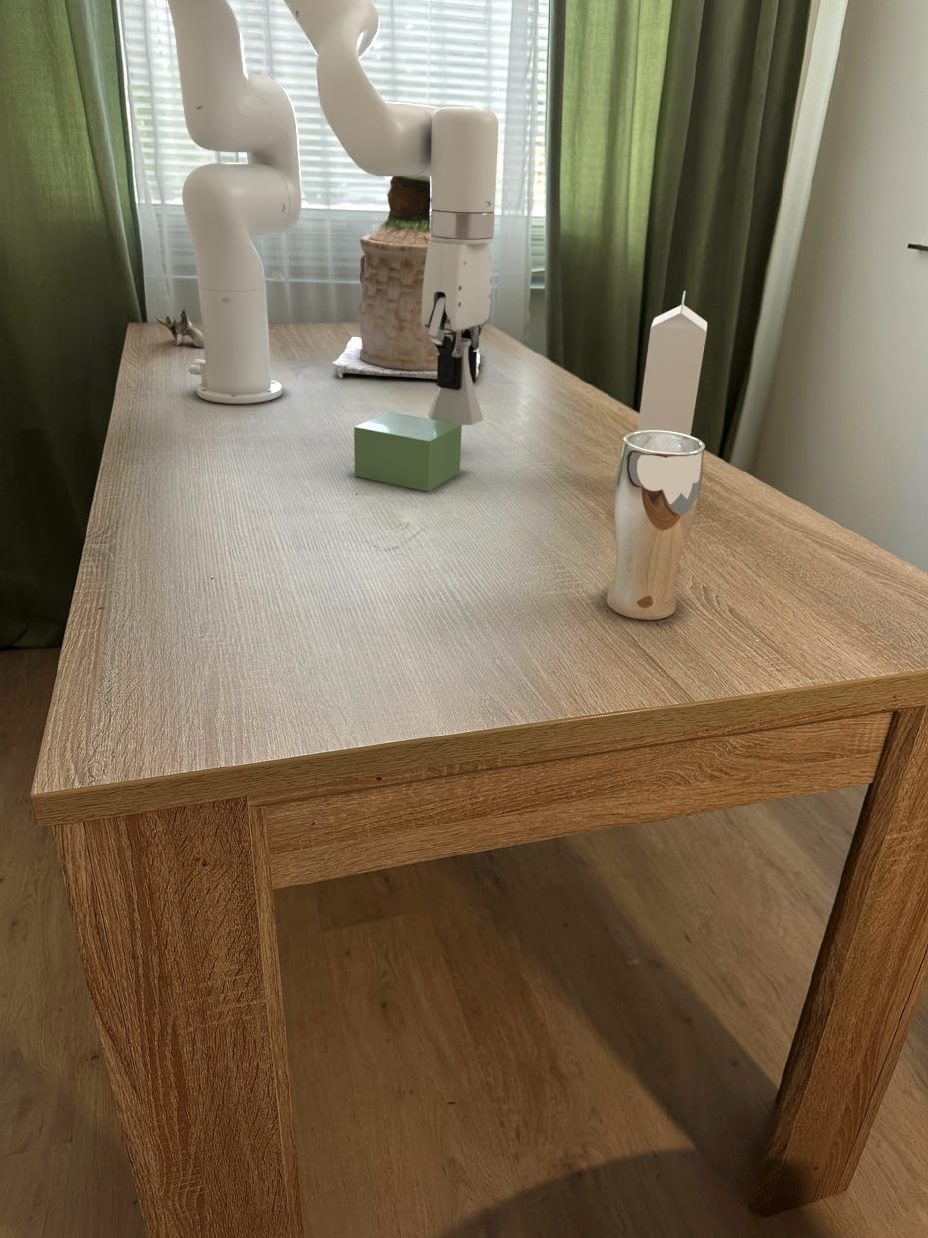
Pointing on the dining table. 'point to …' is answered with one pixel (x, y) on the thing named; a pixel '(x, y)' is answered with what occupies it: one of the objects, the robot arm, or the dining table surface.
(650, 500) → the beer glass
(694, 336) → the milk
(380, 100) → the robot arm
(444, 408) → the flask
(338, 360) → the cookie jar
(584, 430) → the dining table surface
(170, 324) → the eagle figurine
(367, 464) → the green block
